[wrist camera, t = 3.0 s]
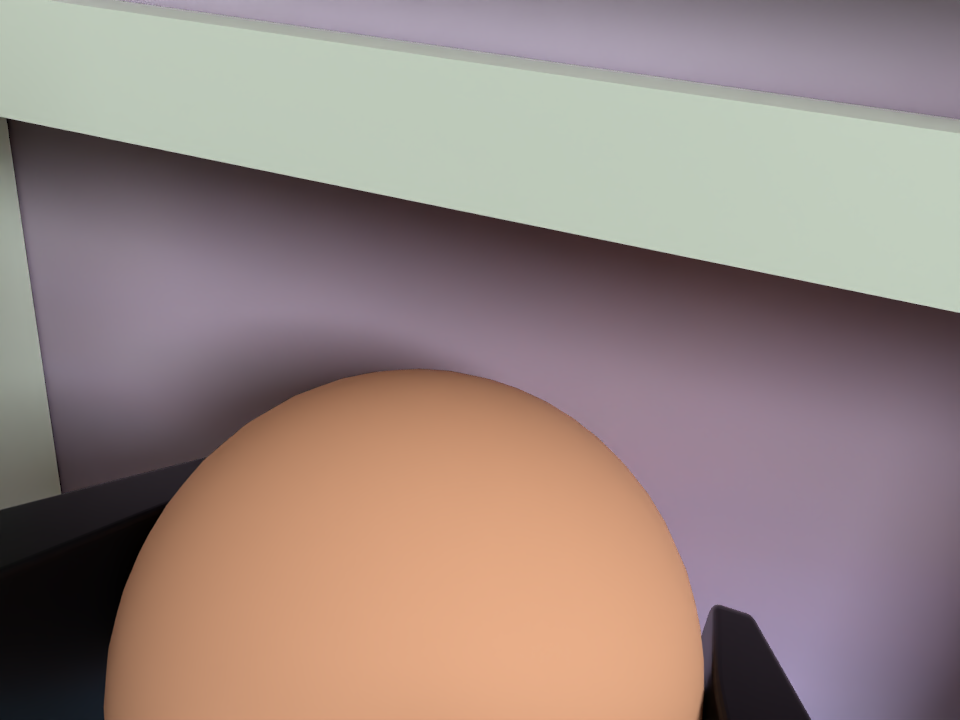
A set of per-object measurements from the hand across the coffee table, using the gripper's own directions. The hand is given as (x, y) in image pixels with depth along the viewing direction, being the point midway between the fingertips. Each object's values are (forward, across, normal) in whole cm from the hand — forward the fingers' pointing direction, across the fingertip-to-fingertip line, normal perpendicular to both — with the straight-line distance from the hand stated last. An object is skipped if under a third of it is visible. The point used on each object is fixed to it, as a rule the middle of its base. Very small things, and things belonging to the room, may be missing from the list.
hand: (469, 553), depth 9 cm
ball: (-2, 0, 0) cm, 2 cm away
